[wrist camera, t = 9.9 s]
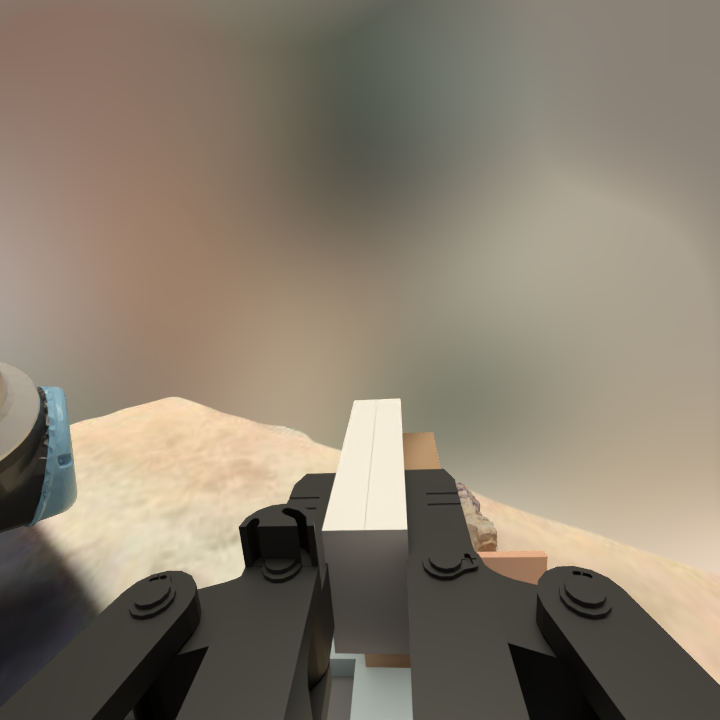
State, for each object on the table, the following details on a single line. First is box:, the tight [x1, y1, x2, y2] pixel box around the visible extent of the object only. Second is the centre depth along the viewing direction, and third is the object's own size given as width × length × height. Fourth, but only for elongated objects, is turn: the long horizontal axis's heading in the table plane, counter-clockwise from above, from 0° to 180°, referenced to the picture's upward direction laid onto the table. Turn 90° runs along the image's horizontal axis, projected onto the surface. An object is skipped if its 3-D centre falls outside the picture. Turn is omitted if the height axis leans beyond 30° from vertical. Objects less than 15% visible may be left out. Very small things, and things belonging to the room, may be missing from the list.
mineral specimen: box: [456, 482, 497, 552], centre depth 46 cm, size 13×7×6 cm, turn 31°
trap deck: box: [327, 551, 547, 720], centre depth 29 cm, size 24×18×6 cm
